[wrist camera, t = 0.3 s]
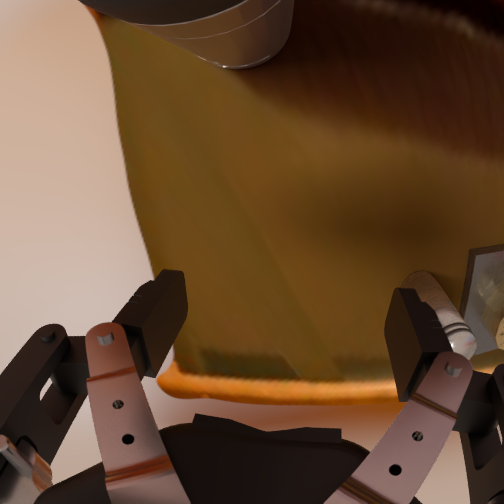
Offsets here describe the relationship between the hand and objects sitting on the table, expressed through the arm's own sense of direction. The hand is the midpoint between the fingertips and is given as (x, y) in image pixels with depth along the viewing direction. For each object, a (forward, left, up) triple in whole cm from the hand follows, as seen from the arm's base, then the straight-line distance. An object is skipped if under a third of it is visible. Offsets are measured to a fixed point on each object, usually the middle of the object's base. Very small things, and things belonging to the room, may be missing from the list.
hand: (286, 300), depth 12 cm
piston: (+14, +13, -19) cm, 27 cm away
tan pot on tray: (+18, +27, -19) cm, 38 cm away
